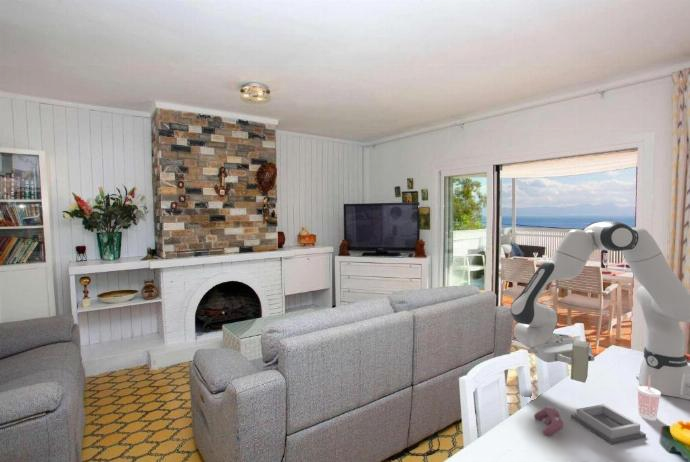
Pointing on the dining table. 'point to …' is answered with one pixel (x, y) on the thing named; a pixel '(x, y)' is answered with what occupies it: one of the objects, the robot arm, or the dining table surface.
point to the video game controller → (550, 420)
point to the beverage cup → (648, 401)
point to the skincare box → (580, 361)
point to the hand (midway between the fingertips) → (582, 360)
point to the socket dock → (608, 424)
